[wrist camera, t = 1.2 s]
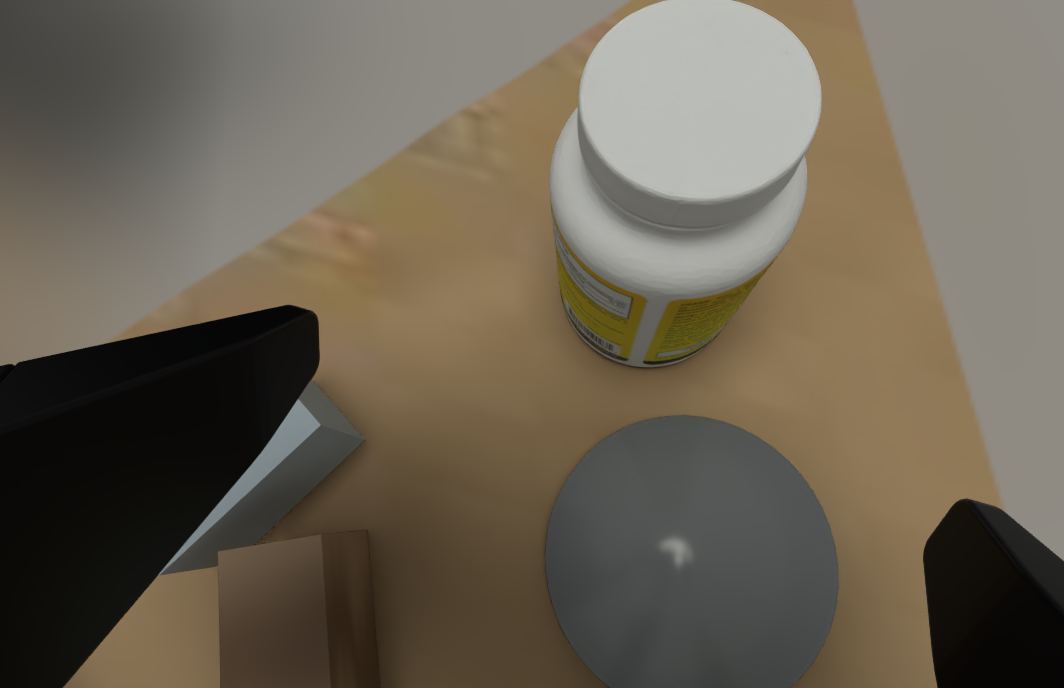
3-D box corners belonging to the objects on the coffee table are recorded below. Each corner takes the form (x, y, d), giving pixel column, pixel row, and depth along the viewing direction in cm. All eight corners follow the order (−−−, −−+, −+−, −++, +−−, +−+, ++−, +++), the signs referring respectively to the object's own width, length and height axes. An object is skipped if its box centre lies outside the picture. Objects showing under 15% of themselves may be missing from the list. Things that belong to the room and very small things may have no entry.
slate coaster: (819, 741, 18) (829, 751, 18) (524, 677, 19) (522, 684, 19) (836, 442, 21) (846, 440, 20) (570, 399, 22) (569, 395, 21)
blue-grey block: (235, 563, 21) (159, 575, 17) (186, 499, 22) (102, 497, 18) (366, 439, 22) (320, 424, 18) (315, 381, 23) (260, 355, 19)
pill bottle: (738, 222, 23) (876, -26, 12) (721, 383, 21) (861, 260, 11) (573, 202, 24) (568, -50, 13) (546, 356, 22) (515, 215, 11)
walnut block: (384, 724, 20) (336, 777, 16) (292, 739, 20) (222, 794, 16) (368, 529, 21) (321, 534, 17) (283, 543, 21) (217, 551, 17)
